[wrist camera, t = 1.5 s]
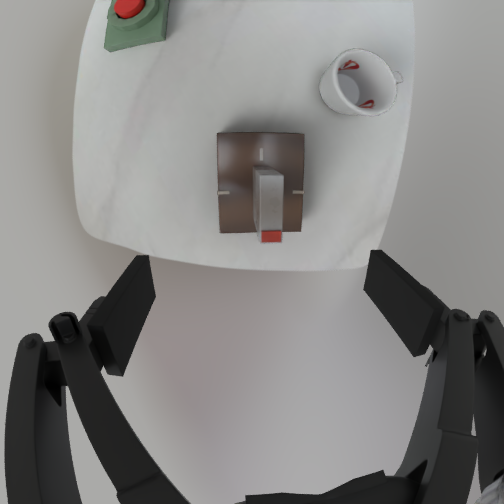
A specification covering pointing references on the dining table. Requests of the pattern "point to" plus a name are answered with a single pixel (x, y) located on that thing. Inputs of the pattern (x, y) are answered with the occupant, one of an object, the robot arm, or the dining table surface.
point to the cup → (359, 84)
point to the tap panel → (241, 176)
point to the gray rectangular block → (268, 204)
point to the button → (128, 7)
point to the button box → (136, 26)
